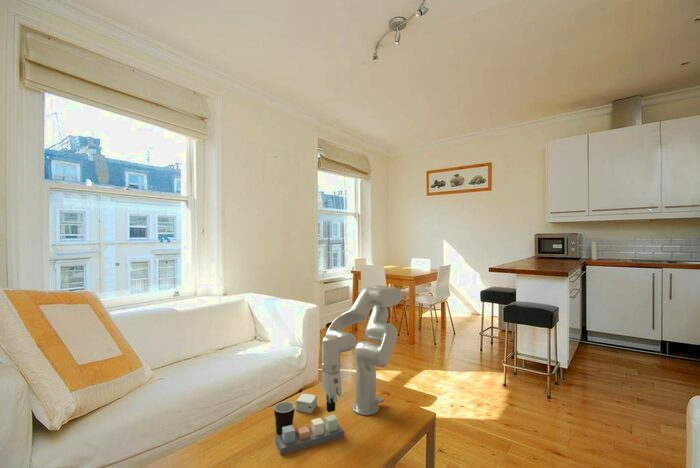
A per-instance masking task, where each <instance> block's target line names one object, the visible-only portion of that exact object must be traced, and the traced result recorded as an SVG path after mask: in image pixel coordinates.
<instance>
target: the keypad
mask: <svg viewBox="0 0 700 468" xmlns="http://www.w3.org/2000/svg"><path fill="white" fill-rule="evenodd" d="M308 429H309V431H310V438H307V439H303V440H299V439H298V437H297V430H295V442H292V443H289V444H284V442H283V440H282V435H277V436H275V446H276V447H277V450H278V452H279V455H280V456H284V455H287V454H290V453H294V452H297V451H301V450H304V449H307V448H311V447H314V446H318V445H319V446H320V445H321V444H324V443H328V442H332V441H335V440H339V439H342V438H344V437H345V430H343V429H344V428H342V427H341V426H340V424H339V423H338V425H337V430H336V431H332V432H329V433H328V432H327V430H326V429H325V423H324V434H321V435H318V436H314V435H313V434H312V432H311V427H308Z"/></svg>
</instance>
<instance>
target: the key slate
mask: <svg viewBox="0 0 700 468" xmlns="http://www.w3.org/2000/svg"><path fill="white" fill-rule="evenodd" d="M293 425H294V424H293ZM293 425H289V426H285V427H282V440H283V442H284V445H285V444H289V443H292V442H295V431H296V430H295V428H294V426H293Z"/></svg>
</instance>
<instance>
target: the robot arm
mask: <svg viewBox="0 0 700 468" xmlns="http://www.w3.org/2000/svg"><path fill="white" fill-rule="evenodd" d="M402 297H403V295H402V291H401V289H400V288H399V287H394V286H386V285H380V284H379V285H378V284H377V285H376V284H375V285H373V286H366V287H364V288H363V289H361V291H360V293H359V295H358V296H357V298H356V299H355V301H354V302H353V304H352V306H351V308H350V309H348V310H347V311H345V312H343V313H341V314H339V316H337V317H336V318H335V319H334V320H332V321H331V324H330V325H329V327H328V328H327V330H326V332H325V335H324V337H322V340H321V352H322V353H321V371H322V380H321V381H322V385H321V386H322V387H321V388H322V390H323V391H324V393H325V396H326V397H325V399H326V411H327V413H331V412H336V403H337V402H338V397H342V380H341V373H340V371H341V353H346V352H350V351H352V350H353V349H354V357H355V368H356V370H355V373H356V374H355V376H356V377H355V378H356V379H355V401H354V402H353V403H352V407H351V408H352V410H353V412H354V413H356V414H357V415H361V416H373V415H375V414H377V413H378V412H379V409H380V407H379V404H380V403H385V398H384V397H380V396H376V395H377V393H376V392H377V391H376V390H377V369H376V367H379V368H386V367H387V366H388V365H389V363H390V361H391V358H392V355H393V352H394V349H395V346H396V342H397V338H398V329H397V328H396V326H395V325H394V324H392V323H388V322H387V321H388V318H389V311H388V307H393V306H397V305H398V304H400V302H401V301H402ZM370 313H371V314H370ZM369 315H370V316H369ZM368 316H369V319H368V321H367V324H366V327H365V331H364V335H365V337H366V339H368V340H370V341H367V340H362V341H359V342H357V337H356V336H355V335H354V334H353V333H351V332H347V331H343V329H346V327H349V326H351V325H354V324H359V323H362V322H365V321H366V320H367V318H368ZM371 341H373V342H371ZM376 342H377V343H376ZM378 343H380V344H378Z"/></svg>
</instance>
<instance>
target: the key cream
mask: <svg viewBox="0 0 700 468" xmlns="http://www.w3.org/2000/svg"><path fill="white" fill-rule="evenodd" d="M310 421H311V422H310V428H311V432H312V434H313V436H318V435H321V434H324V424H325V421H323V419H322V418H321V417H318V418H313V419H311V420H310Z"/></svg>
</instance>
